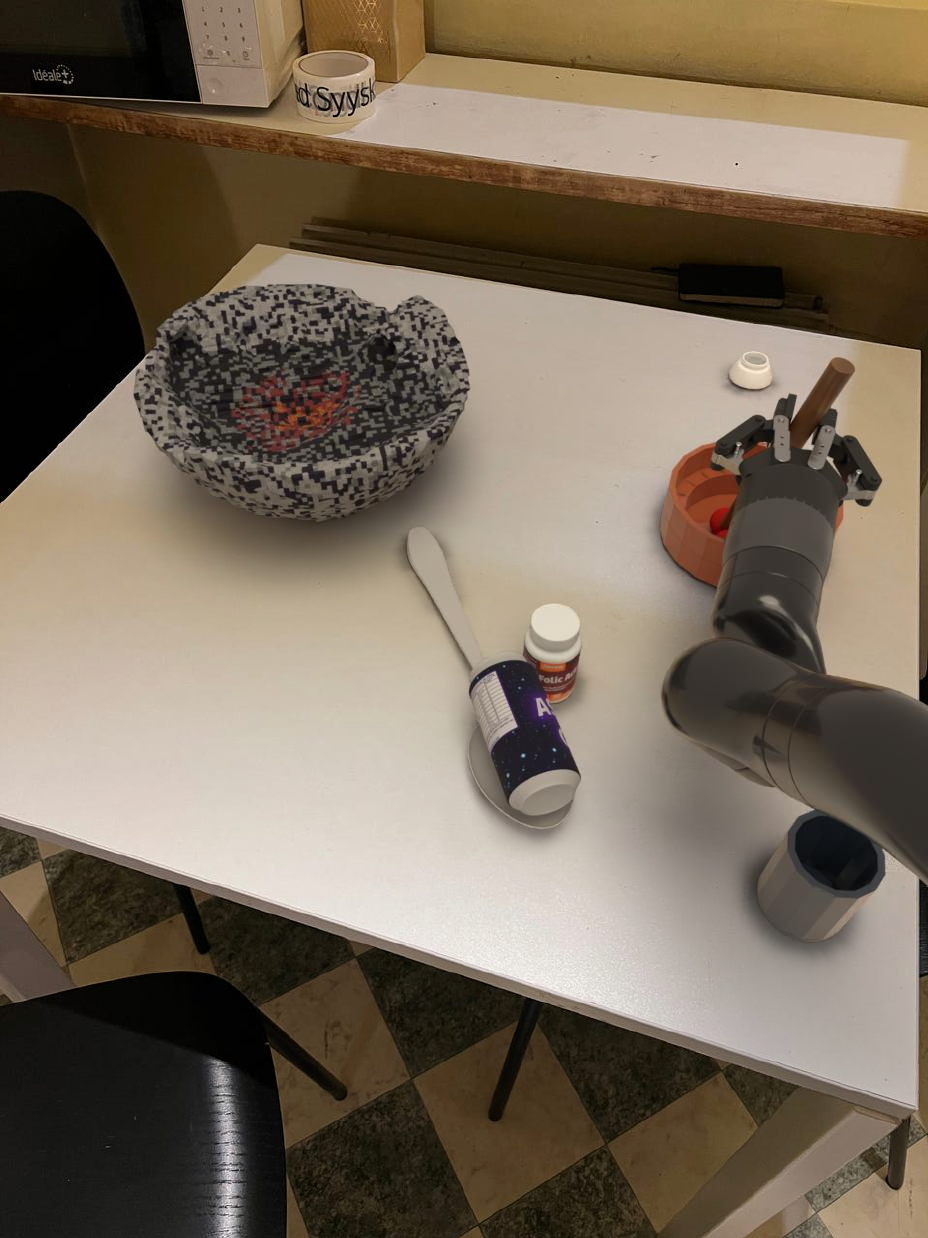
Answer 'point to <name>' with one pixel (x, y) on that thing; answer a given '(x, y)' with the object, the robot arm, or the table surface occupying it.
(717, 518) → the red ball
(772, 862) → the holder
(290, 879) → the table surface
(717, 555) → the stew bowl
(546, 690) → the pill bottle
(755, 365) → the lidless jar
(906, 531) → the table surface
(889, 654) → the table surface
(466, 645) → the spoon
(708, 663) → the robot arm
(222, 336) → the bowl
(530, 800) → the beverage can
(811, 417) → the stick
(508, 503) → the table surface
